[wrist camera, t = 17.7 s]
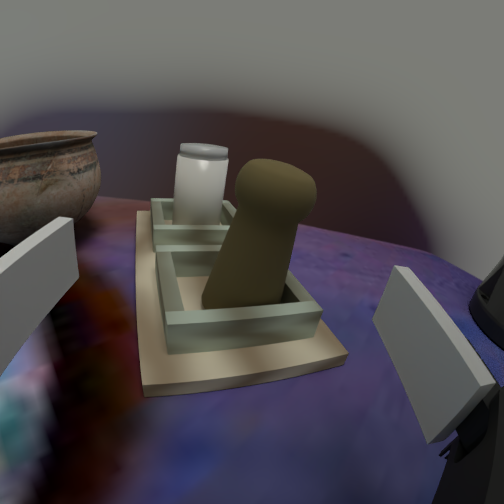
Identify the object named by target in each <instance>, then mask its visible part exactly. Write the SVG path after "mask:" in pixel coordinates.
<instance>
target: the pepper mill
mask: <svg viewBox="0 0 504 504" xmlns="http://www.w3.org/2000/svg"><path fill="white" fill-rule="evenodd" d="M316 194H317V190H316V185H315V182H314V180H313V179H312V178H311V176H309V175H308V174H307V173H305V172H303V171H302V170H300V169H298V168H296V167H294V166H292V165H289V164H287V163H284V162H280V161H276V160H268V159H254V160H251V161H249V162H248V163H247V164H246V165H244V166H243V168H242V169H241V170H240V172H239V174H238V176H237V179H236V184H235V195H236V197H237V200H238V203H239V206H238V208H237V210H236V213H235V215H234V217H233V220H232V222H231V224H230V227H229V229H228V232H227V234H226V236H225V239H224V241H223V244H222V246H221V249H220V251H219V253H218V256H217V258H216V261H215V263H214V266H213V268H212V271H211V273H210V276H209V278H208V281H207V283H206V286H205V288H204V291H203V293H202V296H201V297H202V305H203V306H204V308H205V310H209V309H225V308H239V307H252V306H264V305H275V304H280V302H281V298H282V294H283V290H284V285H285V281H286V277H287V272H288V268H289V263H290V259H291V254H292V250H293V245H294V241H295V236H296V231H297V227H298V223H299V222H300V221H302V220H303V219H305V218H306V217H307V216H308V215H309V213H310V212H311V210H312V209H313V207H314V204H315V201H316Z"/></svg>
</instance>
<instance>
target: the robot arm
mask: <svg viewBox="0 0 504 504" xmlns="http://www.w3.org/2000/svg"><path fill="white" fill-rule="evenodd" d="M78 278H79V272H78V265H77V257H76V247H75V237H74V224H73V218H66V217H58V218H56V219H55V220H53V221H51V222H50V223H48V224H47V225H45V226H44V227H42V228H41V229H39V230H38V231H37V232H35V233H34V234H32V235H31V236H29V237H28V238H26V239H25V240H24V241H22V242H21V243H20V244H18V245H17V246H15V247H14V248H13V249H11V250H10V251H9V252H7V253H6V254H5V255H3V256H2V257H1V258H0V376H1V375H2V373H3V372H4V370H5V369H6V368H7V366H8V365H9V363H10V362H11V361H12V359H13V358H14V356H15V355H16V354H17V352H18V351H19V350H20V348H21V347H22V346H23V344H24V343H25V342H26V340H27V339H28V338H29V336H30V335H31V334H32V332H33V331H34V330H35V329H36V327H37V326H38V325H39V324H40V322H41V321H42V320H43V319H44V317H45V316H46V315H47V314H48V313H49V311H50V310H51V309H52V308H53V307H54V305H55V304H56V303H57V302H58V301H59V300H60V298H61V297H62V296H63V295H64V294H65V293H66V292H67V290H68V289H69V288H70V287H71V286H72V285H73V284H74V282H75V281H76V280H77V279H78ZM470 311H471V313H472V315H473V317H474V319H475V321H476V322H477V323H478V325H479V326H480V327H481V328H482V330H483V331H484V332H485V333H486V334H487V335H488V336H489V337H490V338H491V339H492V340H493V341H494V342H496V343H497V344H498V345H499V346H501V347H502V348H503V349H504V256H503V257H502V259H501V260H500V262H499V263H498V264H497V265H496V267H495V268H494V269H493V270H492V271H491V273H490V274H489V275H488V276H487V277H486V278H485V280H484V281H483V282H482V283H481V284H480V285H479V286H478V288H477V289H476V291H475V293H474V295H473V297H472V299H471V301H470ZM372 321H373V323H374V325H375V327H376V329H377V331H378V333H379V335H380V337H381V339H382V341H383V343H384V345H385V347H386V349H387V351H388V353H389V356H390V358H391V360H392V362H393V364H394V366H395V368H396V371H397V373H398V375H399V377H400V380H401V382H402V384H403V386H404V389H405V391H406V393H407V395H408V398H409V400H410V403H411V405H412V407H413V410H414V412H415V415H416V417H417V419H418V422H419V424H420V427H421V429H422V432H423V435H424V437H425V440H426V442H427V444H432V443H436V442H440V441H443V440H445V439H446V438H447V437H448V436H449V435H450V434H451V433H452V432H453V431H454V430H455V429H456V431H457V433H458V436H457V437H456V438H455V439H454V440H453V441H452V442H451V443H450V444H449V445H448V446H446V447H445V448H444V449H443V450H442V451H441V453H440V454H439V456H440V457H441V456H443V455H444V454H445V453H446V452H447V451H448V450H450V452H449V454H448V455H447V456H446V457H445V459H447V462H446V465H445V468H444V472H443V474H442V477H441V480H440V483H439V486H438V488H437V491H436V494H435V496H434V499H433V501H432V504H504V386H503V387H502V388H501V387H500V385H499V384H498V382H497V381H496V379H495V378H494V376H493V375H492V373H491V372H490V370H489V369H488V367H487V366H486V364H485V363H484V361H483V360H481V357H480V355H479V354H478V353H477V352H475V348H474V347H473V346H472V344H471V343H470V341H469V340H468V339H467V338H466V337H465V336H464V335H463V334H462V333H461V331H460V330H459V329H458V327H457V326H456V325H455V323H454V322H453V321H452V319H451V318H450V317H449V316H448V314H447V313H446V312H445V310H444V309H443V308H442V307H441V305H440V304H439V303H438V302H437V301H436V299H435V298H434V297H433V296H432V294H431V293H430V292H429V291H428V290H427V288H426V287H425V286H424V285H423V284H422V282H421V281H420V280H419V279H418V278H417V277H416V275H415V274H414V273H413V272H412V271H411V270H410V269H409V268H408V267H401V266H395V265H394V267H393V270H392V272H391V275H390V278H389V280H388V283H387V285H386V288H385V290H384V293H383V295H382V297H381V300H380V302H379V305H378V307H377V309H376V311H375V314H374V316H373V318H372Z"/></svg>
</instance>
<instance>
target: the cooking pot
mask: <svg viewBox="0 0 504 504" xmlns="http://www.w3.org/2000/svg"><path fill="white" fill-rule="evenodd" d="M96 135H97V132H93V131H50V132H39V133H30V134H23V135H16V136H10V137H5V138H1V139H0V242H1V243H5V244H10V245H13V246H17V245H18V244H20V243H21V242H22V241H24V240H25V239H26V238H28V237H29V236H31V235H32V234H34V233H35V232H37V231H38V230H39V229H41V228H42V227H44V226H45V225H47V224H48V223H50V222H51V221H53V220H55V219H56V218H58V217H66V218H73V224H75V223H76V222H77V221H79V220H80V219H81V218H82V217H83V216H84V215H85V214H86V213H87V212H88V210H89V209H90V208H91V206H92V205H93V203H94V201H95V199H96V197H97V194H98V192H99V189H100V184H101V172H100V166H99V162H98V158H97V154H96V151H95V149H94V146H93V143H92V139H93V138H94V137H95V136H96Z"/></svg>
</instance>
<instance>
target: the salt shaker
mask: <svg viewBox="0 0 504 504" xmlns="http://www.w3.org/2000/svg"><path fill="white" fill-rule="evenodd" d="M227 154H228V148H225V147H222V146H216V145H210V144H199V143H183V144H181V147H180V154H178V158H177V168H176V178H175V190H174V202H173V216H172V225H220V218H221V210H222V203H223V195H224V188H225V180H226V173H227V166H228V159H227Z"/></svg>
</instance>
